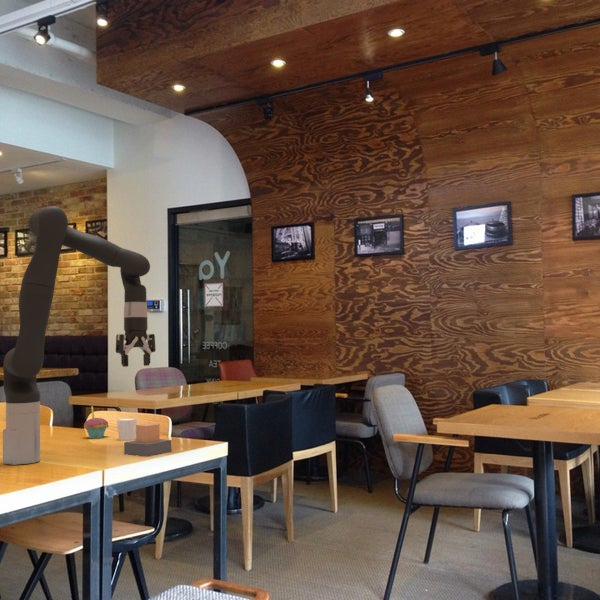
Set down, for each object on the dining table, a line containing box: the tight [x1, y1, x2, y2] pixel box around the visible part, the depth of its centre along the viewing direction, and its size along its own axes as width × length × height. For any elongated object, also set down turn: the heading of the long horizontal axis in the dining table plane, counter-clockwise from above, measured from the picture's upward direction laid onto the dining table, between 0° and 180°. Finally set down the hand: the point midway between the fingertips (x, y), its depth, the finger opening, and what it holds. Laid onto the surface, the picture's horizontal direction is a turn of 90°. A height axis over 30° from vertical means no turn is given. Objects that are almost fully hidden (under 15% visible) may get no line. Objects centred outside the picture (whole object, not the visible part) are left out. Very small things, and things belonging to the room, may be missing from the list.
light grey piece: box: [116, 417, 138, 441], centre depth 243 cm, size 7×7×7 cm
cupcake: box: [83, 404, 109, 440], centre depth 249 cm, size 9×8×12 cm
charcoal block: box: [123, 438, 173, 458], centre depth 211 cm, size 10×10×4 cm
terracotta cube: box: [135, 422, 161, 443], centre depth 211 cm, size 5×5×5 cm
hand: (136, 366), depth 225 cm, fingers open, 8 cm apart
